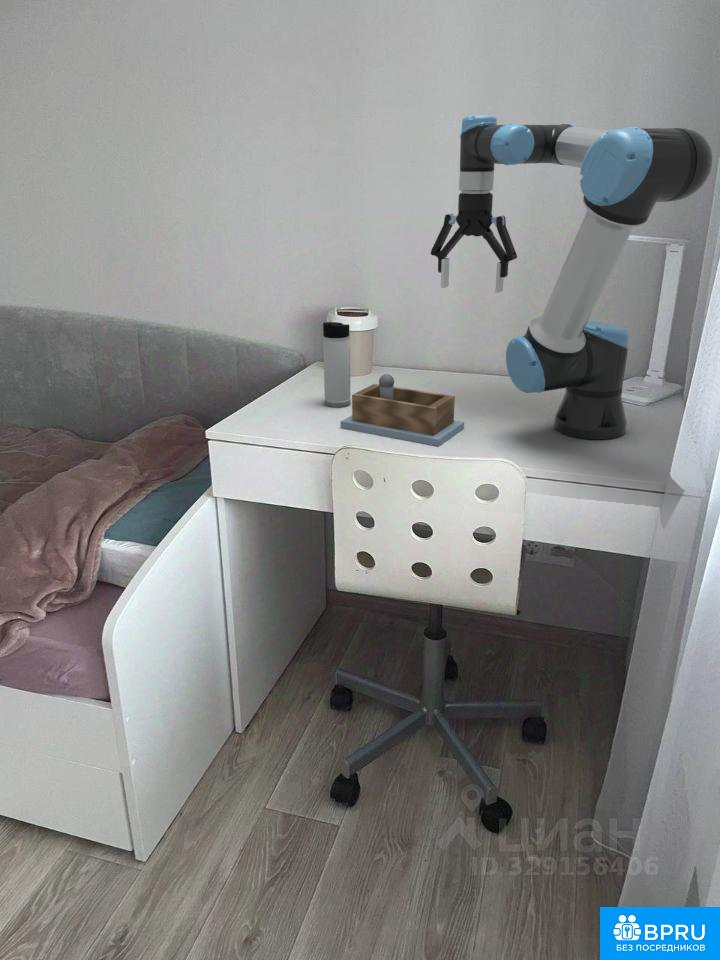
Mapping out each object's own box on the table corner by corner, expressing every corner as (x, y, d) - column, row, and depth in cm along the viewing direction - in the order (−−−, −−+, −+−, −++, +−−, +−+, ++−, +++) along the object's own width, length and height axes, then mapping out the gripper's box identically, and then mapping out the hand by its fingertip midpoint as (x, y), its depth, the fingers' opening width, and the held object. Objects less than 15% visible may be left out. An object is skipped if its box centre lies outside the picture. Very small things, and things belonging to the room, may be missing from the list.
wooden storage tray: (453, 422, 174) (454, 396, 172) (433, 435, 166) (434, 408, 164) (374, 408, 184) (374, 383, 181) (352, 420, 176) (352, 394, 174)
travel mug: (318, 404, 192) (316, 321, 184) (338, 398, 197) (336, 317, 189) (336, 409, 188) (334, 325, 180) (356, 403, 192) (355, 321, 185)
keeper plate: (464, 428, 175) (466, 376, 171) (438, 446, 165) (440, 392, 160) (369, 411, 186) (369, 363, 182) (340, 427, 176) (339, 376, 172)
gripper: (535, 192, 173) (528, 291, 181) (432, 190, 184) (429, 282, 193) (523, 194, 167) (516, 296, 175) (417, 191, 178) (415, 287, 187)
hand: (471, 289), depth 184 cm, fingers open, 13 cm apart
